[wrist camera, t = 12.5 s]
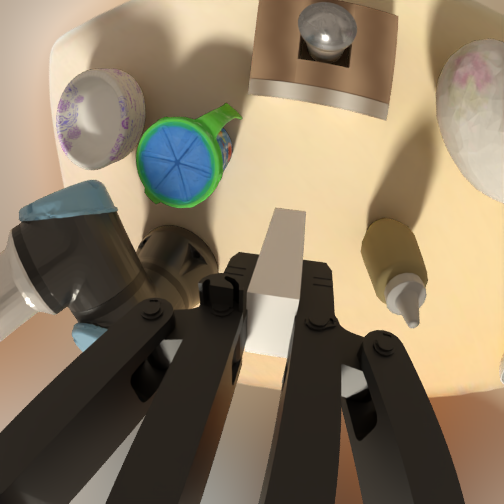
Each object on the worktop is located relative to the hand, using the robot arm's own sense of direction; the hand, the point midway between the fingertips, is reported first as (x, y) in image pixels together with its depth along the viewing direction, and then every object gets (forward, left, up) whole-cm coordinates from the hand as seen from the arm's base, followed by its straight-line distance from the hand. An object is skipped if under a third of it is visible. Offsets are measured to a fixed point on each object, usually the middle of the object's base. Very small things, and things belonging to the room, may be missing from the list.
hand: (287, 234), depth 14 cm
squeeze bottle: (+13, -9, -24) cm, 29 cm away
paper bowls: (-30, +4, -24) cm, 38 cm away
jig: (0, +15, -24) cm, 28 cm away
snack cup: (-14, -1, -24) cm, 28 cm away
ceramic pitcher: (+22, +14, -24) cm, 36 cm away
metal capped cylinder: (0, +15, -24) cm, 28 cm away
